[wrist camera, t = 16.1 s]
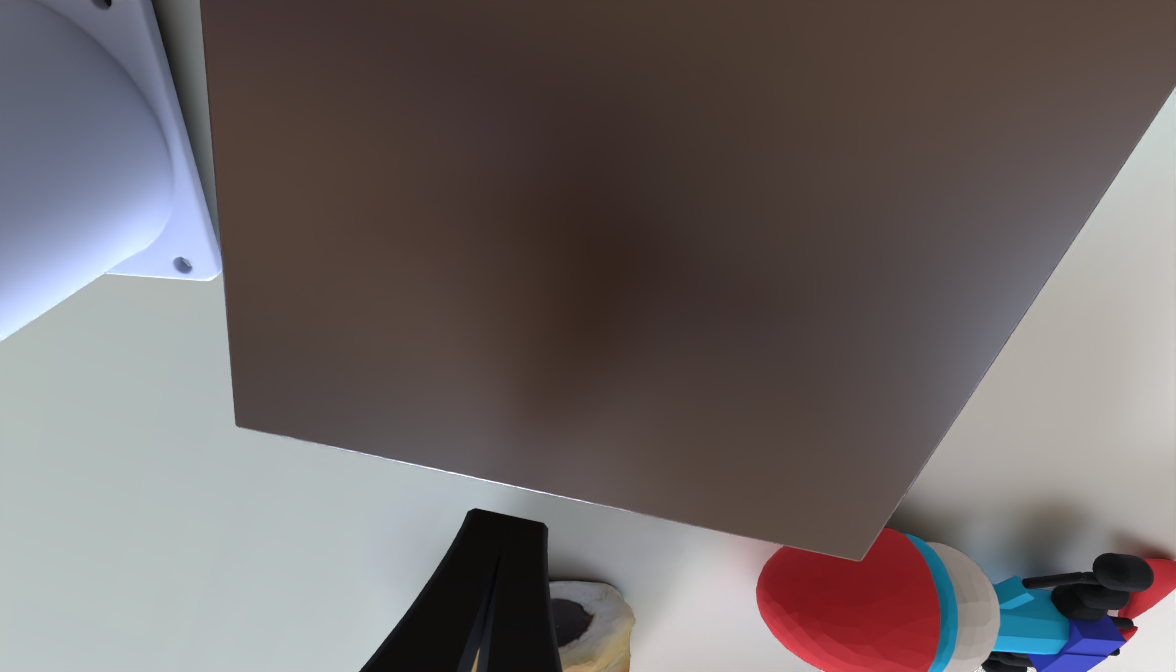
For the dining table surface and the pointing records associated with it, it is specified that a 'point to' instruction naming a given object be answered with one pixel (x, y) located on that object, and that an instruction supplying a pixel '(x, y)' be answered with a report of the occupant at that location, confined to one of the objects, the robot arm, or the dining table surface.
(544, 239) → the cabinet
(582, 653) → the pastry
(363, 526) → the dining table surface
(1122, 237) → the dining table surface
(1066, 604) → the toy figure
